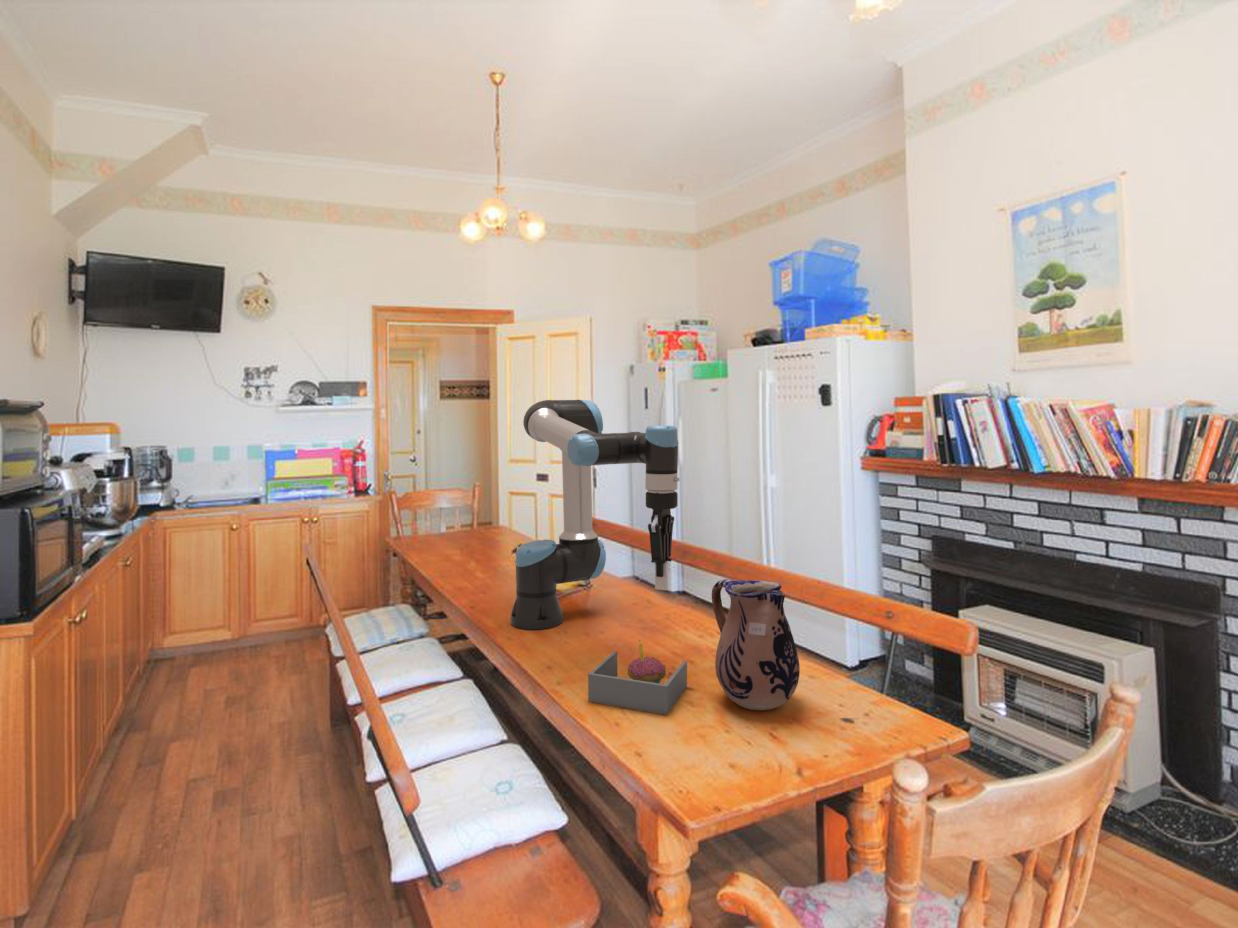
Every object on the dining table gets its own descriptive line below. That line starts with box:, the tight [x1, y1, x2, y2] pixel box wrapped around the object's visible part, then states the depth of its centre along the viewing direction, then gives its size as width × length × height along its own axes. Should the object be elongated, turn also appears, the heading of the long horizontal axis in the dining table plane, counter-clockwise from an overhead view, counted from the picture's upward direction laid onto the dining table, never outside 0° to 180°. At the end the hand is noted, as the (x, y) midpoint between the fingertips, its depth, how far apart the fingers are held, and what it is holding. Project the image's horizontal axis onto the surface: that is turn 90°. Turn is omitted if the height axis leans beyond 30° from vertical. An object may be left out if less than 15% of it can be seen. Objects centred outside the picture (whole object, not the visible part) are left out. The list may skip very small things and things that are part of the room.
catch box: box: [587, 650, 688, 716], centre depth 147 cm, size 18×15×6 cm
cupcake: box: [627, 639, 667, 684], centre depth 149 cm, size 9×8×12 cm
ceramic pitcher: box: [711, 578, 801, 711], centre depth 143 cm, size 18×21×25 cm
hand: (661, 588), depth 161 cm, fingers closed
